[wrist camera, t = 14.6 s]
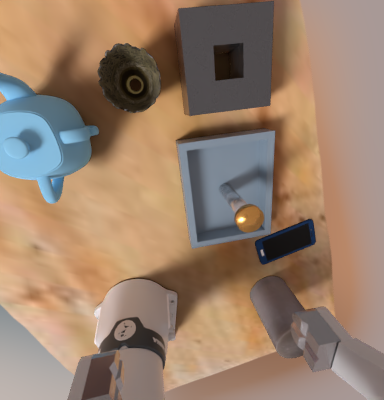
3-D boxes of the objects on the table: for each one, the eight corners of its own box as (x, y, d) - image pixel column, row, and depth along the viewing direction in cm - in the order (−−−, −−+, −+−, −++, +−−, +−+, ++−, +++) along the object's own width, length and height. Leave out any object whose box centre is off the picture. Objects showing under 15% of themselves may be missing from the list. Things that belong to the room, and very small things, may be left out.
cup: (165, 69, 34) (168, 59, 26) (152, 117, 36) (152, 120, 29) (115, 48, 32) (104, 31, 24) (105, 101, 34) (92, 100, 27)
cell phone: (253, 240, 50) (254, 242, 49) (310, 217, 49) (313, 218, 49) (260, 263, 53) (261, 265, 52) (314, 241, 53) (316, 243, 52)
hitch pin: (235, 196, 43) (263, 229, 32) (215, 200, 43) (237, 234, 32) (235, 177, 41) (264, 205, 30) (214, 180, 41) (236, 210, 30)
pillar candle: (286, 297, 58) (327, 355, 45) (252, 309, 58) (282, 371, 44) (283, 270, 54) (326, 324, 41) (245, 283, 54) (276, 342, 40)
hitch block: (253, 105, 38) (270, 105, 32) (184, 114, 37) (189, 115, 31) (254, 18, 33) (273, 1, 27) (174, 25, 32) (178, 8, 26)
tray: (261, 224, 48) (270, 234, 44) (189, 237, 46) (191, 248, 43) (264, 128, 39) (275, 130, 36) (175, 140, 38) (178, 144, 34)
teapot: (71, 186, 39) (46, 217, 29) (-21, 135, 33) (-92, 150, 23) (111, 128, 36) (99, 140, 26) (19, 61, 30) (-42, 43, 21)
